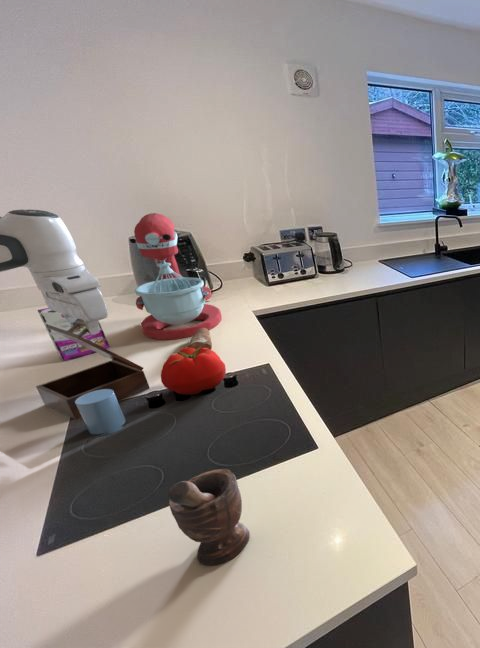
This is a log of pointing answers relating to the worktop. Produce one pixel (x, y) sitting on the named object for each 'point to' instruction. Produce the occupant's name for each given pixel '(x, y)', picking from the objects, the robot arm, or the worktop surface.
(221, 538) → the mortar and pestle
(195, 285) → the stand mixer
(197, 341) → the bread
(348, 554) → the worktop surface
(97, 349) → the lid
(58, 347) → the candy bar box
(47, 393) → the brown wooden box
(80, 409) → the canister
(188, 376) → the tomato
